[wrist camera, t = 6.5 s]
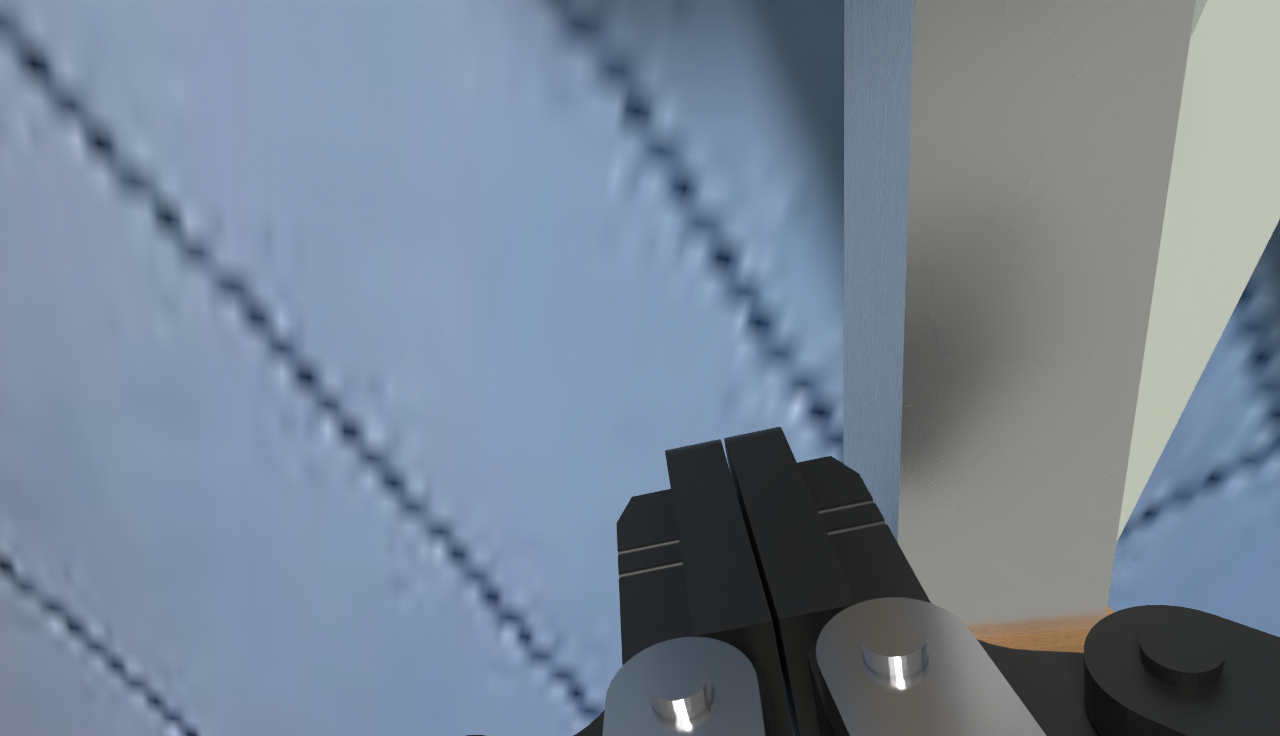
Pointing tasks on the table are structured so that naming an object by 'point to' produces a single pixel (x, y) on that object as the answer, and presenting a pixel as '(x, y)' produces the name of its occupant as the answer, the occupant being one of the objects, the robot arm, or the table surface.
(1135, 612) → the robot arm
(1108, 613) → the bar
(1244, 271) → the door edge
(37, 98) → the table surface
